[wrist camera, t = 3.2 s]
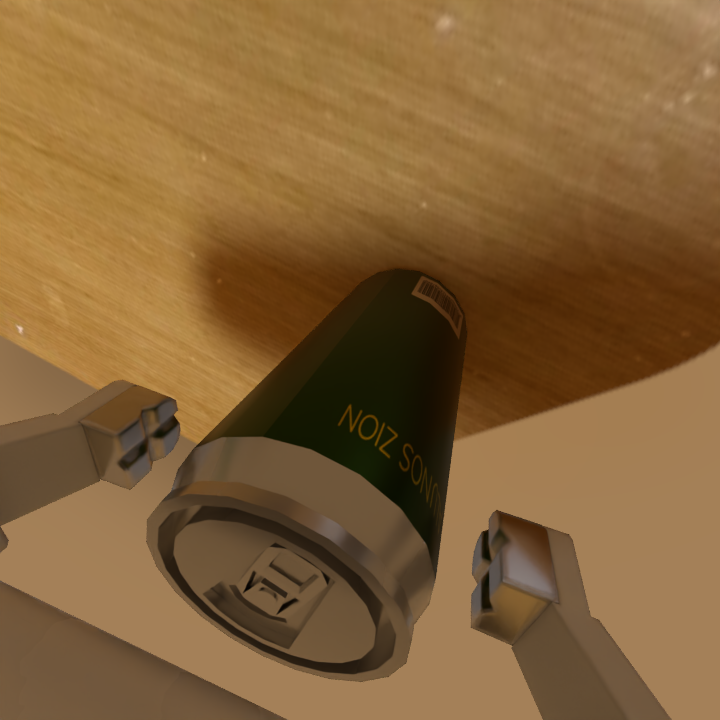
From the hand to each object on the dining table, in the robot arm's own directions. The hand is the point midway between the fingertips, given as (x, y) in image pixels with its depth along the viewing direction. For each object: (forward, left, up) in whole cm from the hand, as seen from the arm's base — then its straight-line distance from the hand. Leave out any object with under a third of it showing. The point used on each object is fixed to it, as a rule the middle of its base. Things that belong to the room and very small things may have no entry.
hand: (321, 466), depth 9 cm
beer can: (0, 0, -9) cm, 9 cm away
